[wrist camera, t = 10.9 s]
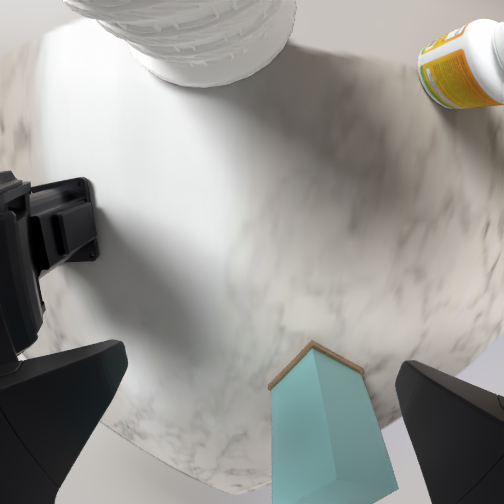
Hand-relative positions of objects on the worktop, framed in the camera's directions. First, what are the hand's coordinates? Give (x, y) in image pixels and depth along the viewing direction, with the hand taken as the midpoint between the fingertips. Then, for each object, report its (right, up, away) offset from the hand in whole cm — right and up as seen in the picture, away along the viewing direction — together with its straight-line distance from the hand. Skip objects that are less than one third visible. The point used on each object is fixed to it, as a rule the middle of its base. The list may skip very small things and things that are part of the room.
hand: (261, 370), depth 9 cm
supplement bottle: (+14, +17, +8) cm, 23 cm away
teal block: (+5, -8, +16) cm, 18 cm away
